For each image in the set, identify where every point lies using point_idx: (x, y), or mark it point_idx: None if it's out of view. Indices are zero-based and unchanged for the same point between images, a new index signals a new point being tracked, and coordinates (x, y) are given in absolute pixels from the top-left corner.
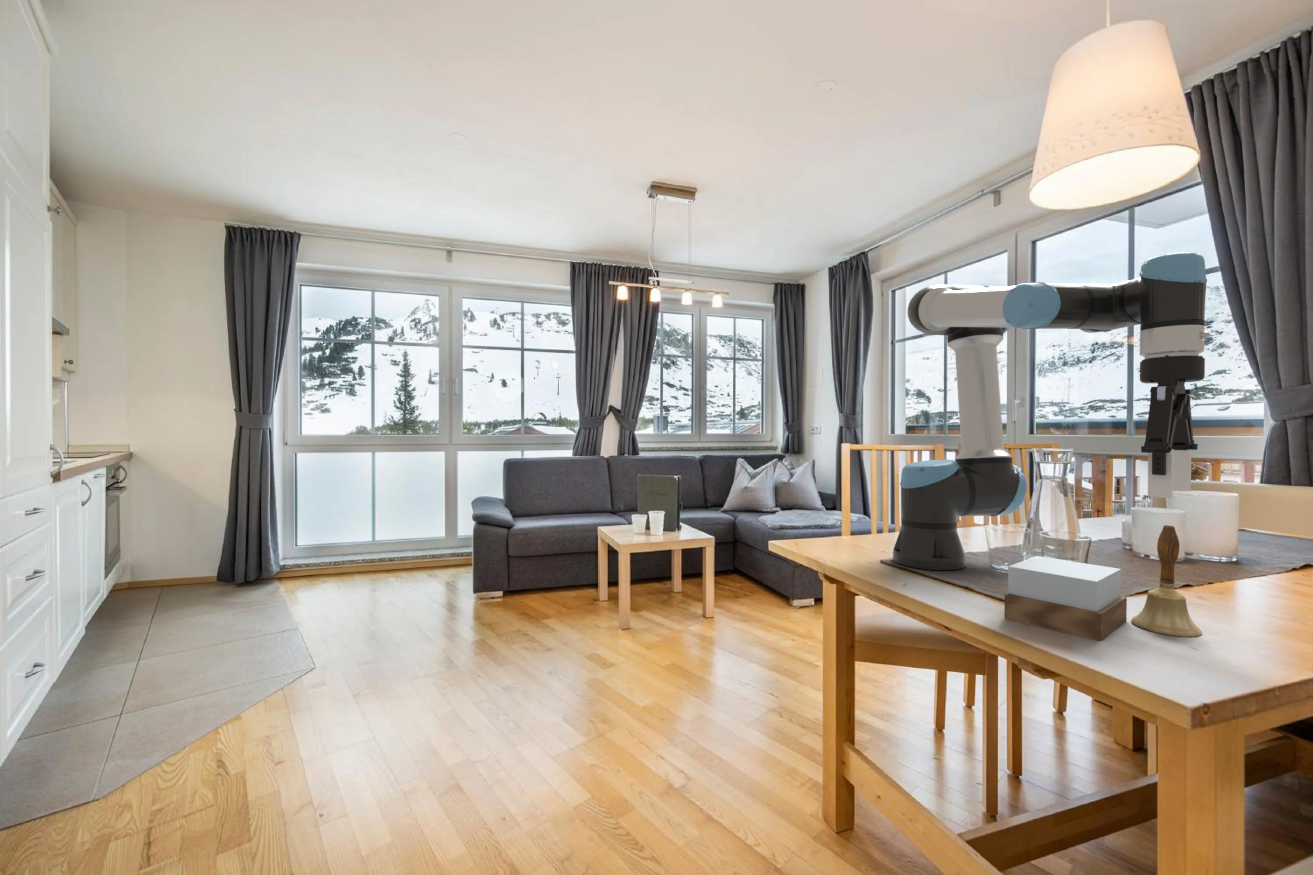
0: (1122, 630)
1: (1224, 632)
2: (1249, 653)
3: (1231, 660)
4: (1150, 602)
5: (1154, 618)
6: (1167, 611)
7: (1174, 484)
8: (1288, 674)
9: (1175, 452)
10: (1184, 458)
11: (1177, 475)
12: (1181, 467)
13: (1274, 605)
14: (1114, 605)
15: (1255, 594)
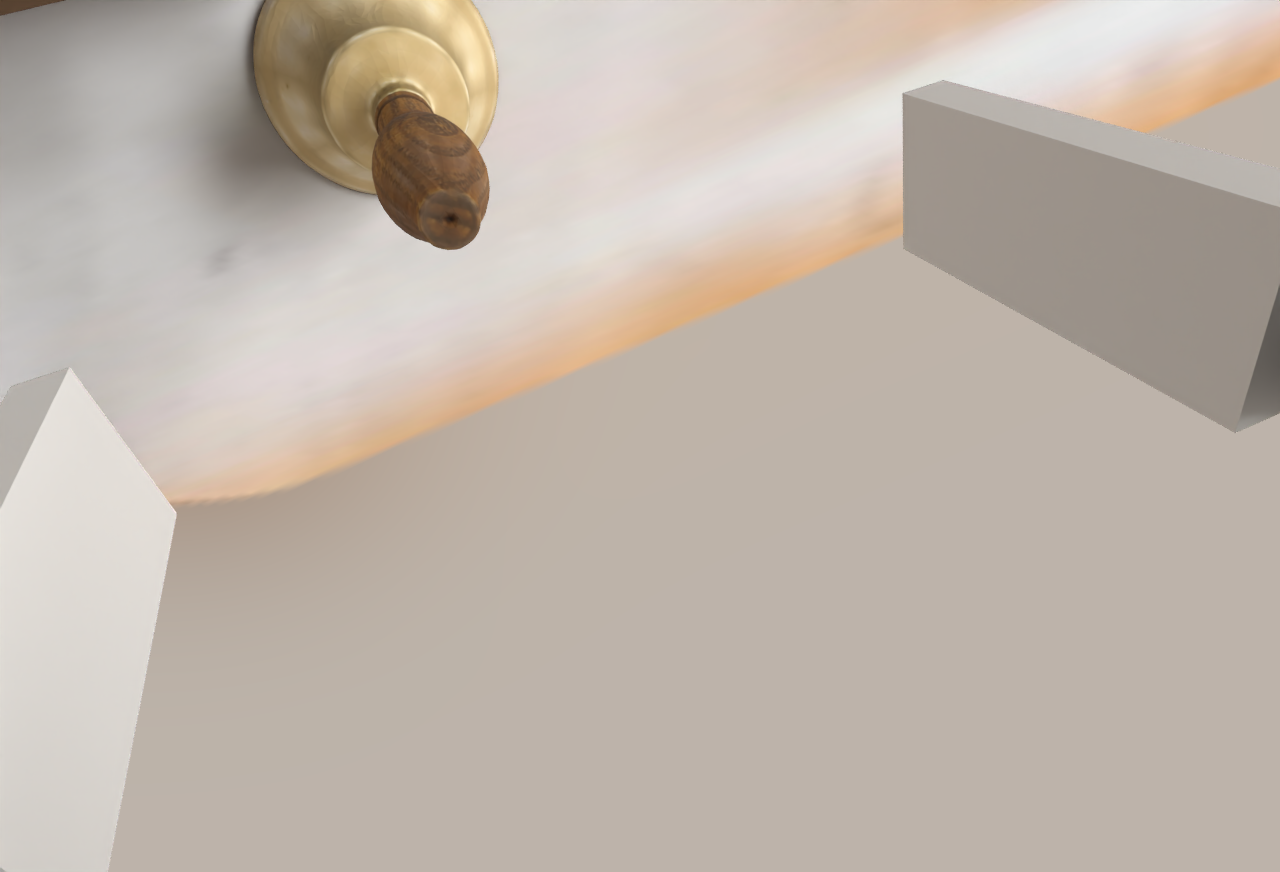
0: (127, 8)
1: (531, 208)
2: (363, 348)
3: (225, 366)
4: (319, 61)
5: (293, 84)
6: (325, 133)
7: (936, 157)
8: (272, 470)
9: (1240, 284)
10: (1152, 334)
11: (1001, 206)
12: (1066, 268)
13: None
14: (37, 6)
15: (1147, 19)
